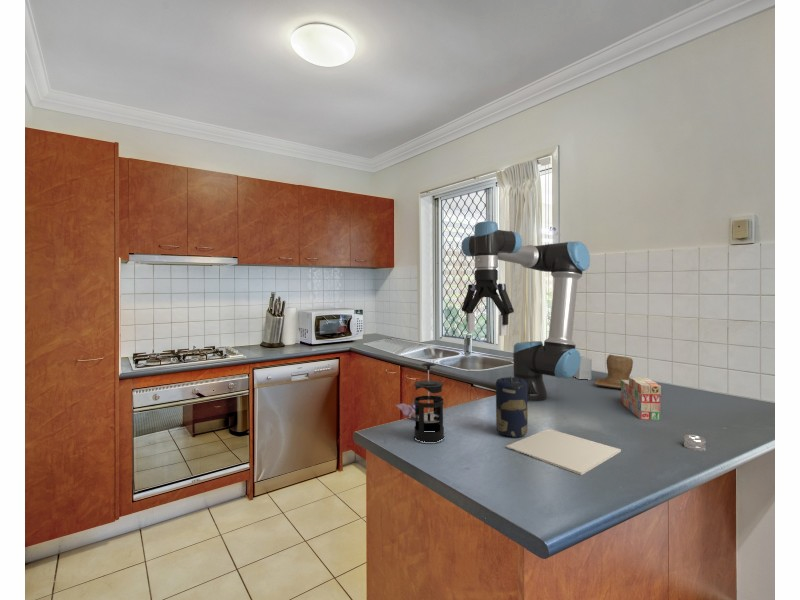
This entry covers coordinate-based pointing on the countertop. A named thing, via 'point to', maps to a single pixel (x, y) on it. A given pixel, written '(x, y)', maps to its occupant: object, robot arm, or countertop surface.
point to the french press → (428, 419)
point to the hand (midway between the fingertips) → (486, 333)
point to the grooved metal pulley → (694, 442)
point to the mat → (565, 450)
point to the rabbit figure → (407, 409)
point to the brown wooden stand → (616, 371)
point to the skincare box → (584, 369)
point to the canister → (511, 406)
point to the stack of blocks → (642, 397)
